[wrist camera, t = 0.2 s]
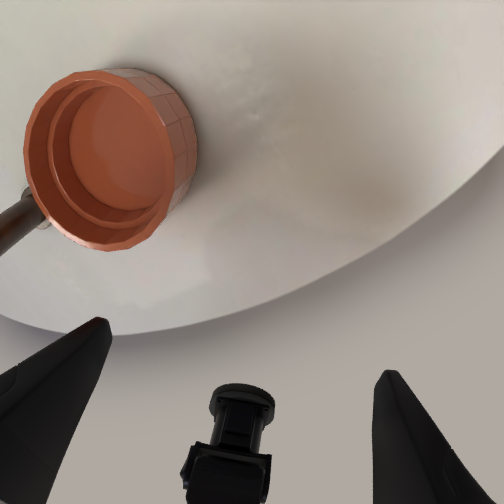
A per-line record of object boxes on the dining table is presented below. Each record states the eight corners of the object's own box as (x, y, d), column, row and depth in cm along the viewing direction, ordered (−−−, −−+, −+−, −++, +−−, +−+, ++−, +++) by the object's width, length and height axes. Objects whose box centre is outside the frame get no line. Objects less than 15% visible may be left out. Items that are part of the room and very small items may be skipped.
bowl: (195, 230, 25) (174, 265, 21) (69, 210, 26) (36, 237, 21) (206, 68, 19) (180, 67, 14) (62, 74, 19) (20, 81, 15)
